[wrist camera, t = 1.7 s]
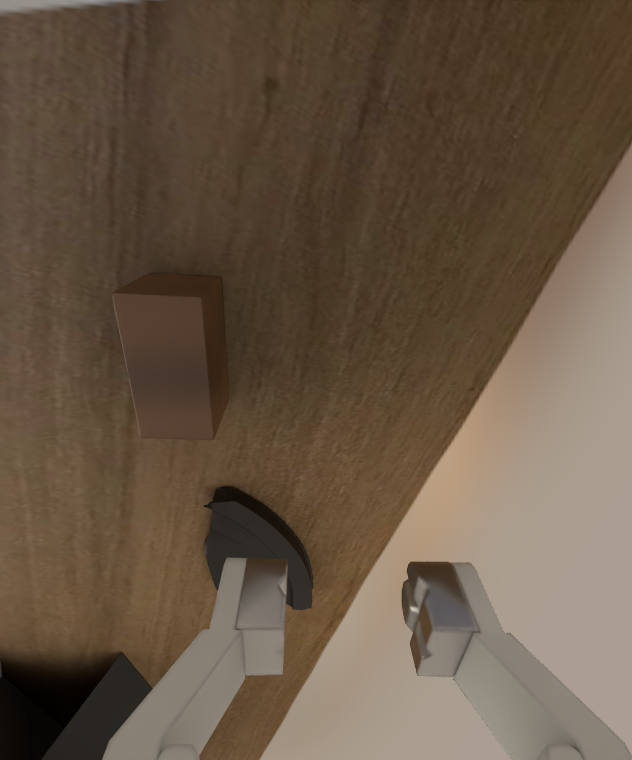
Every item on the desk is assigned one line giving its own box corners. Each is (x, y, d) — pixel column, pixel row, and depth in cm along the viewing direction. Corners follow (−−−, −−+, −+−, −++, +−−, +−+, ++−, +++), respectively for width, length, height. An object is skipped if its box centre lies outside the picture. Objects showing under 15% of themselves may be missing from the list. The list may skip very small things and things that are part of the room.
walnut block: (149, 272, 20) (110, 292, 16) (221, 276, 21) (201, 297, 17) (167, 397, 24) (140, 438, 20) (229, 399, 24) (213, 440, 20)
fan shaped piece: (295, 479, 28) (294, 495, 26) (315, 590, 34) (315, 608, 32) (186, 490, 28) (179, 506, 26) (225, 598, 34) (222, 616, 33)
